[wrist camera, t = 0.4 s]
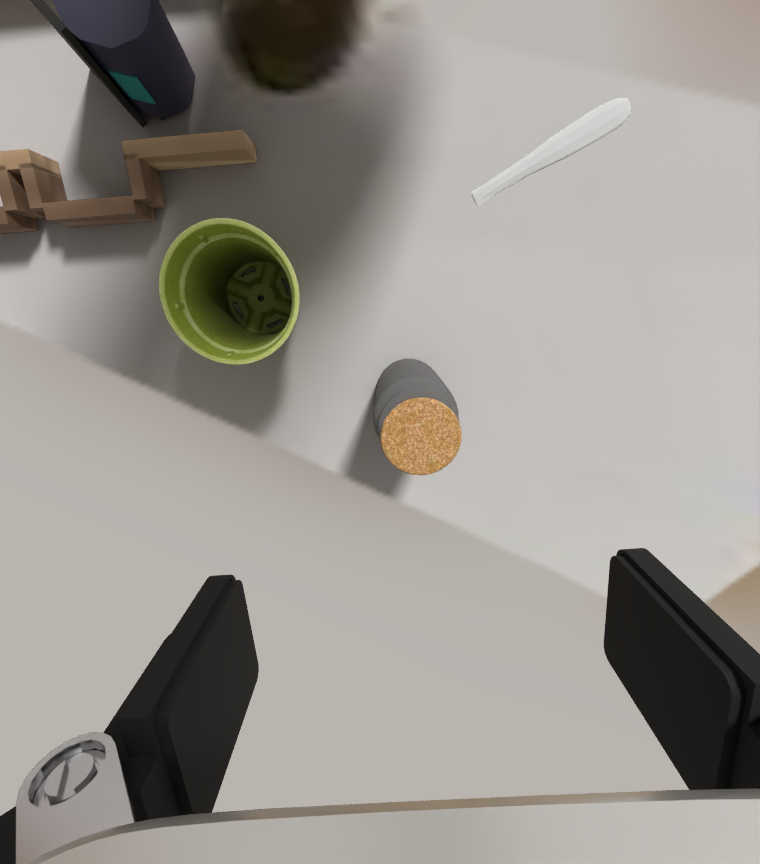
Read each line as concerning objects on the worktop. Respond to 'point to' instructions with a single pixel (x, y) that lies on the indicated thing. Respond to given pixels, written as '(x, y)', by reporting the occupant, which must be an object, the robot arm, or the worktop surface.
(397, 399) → the bottle
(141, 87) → the black blue bulged block
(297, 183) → the worktop surface
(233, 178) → the worktop surface
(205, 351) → the plant pot
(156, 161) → the trap channel
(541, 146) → the white baseball bat
